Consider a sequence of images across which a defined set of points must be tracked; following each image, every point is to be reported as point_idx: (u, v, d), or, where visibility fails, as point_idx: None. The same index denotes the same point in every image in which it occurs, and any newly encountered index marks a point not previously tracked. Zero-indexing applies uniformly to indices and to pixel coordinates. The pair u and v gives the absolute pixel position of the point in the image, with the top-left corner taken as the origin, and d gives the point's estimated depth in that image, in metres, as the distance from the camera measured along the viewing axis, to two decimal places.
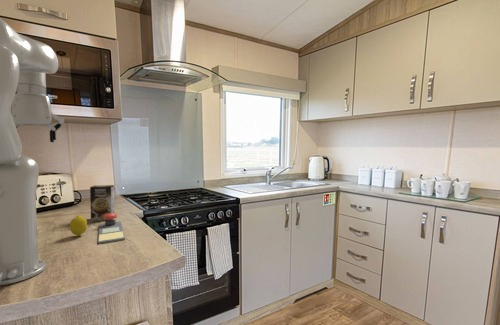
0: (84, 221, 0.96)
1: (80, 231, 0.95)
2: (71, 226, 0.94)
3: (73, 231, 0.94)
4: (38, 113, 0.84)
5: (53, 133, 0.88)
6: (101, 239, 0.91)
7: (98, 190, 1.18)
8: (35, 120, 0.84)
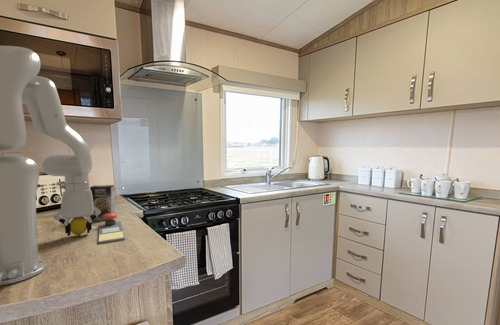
0: (84, 221, 0.96)
1: (80, 231, 0.95)
2: (71, 226, 0.94)
3: (73, 231, 0.94)
4: (83, 207, 0.95)
5: (89, 224, 0.98)
6: (101, 239, 0.91)
7: (98, 190, 1.18)
8: (80, 213, 0.95)
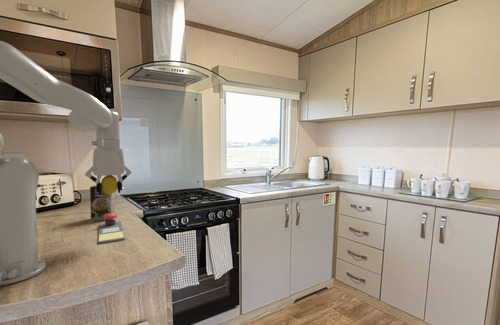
0: (115, 180, 0.93)
1: (111, 190, 0.92)
2: (102, 184, 0.91)
3: (104, 189, 0.91)
4: (114, 165, 0.92)
5: (120, 184, 0.95)
6: (101, 239, 0.91)
7: None
8: (112, 171, 0.91)
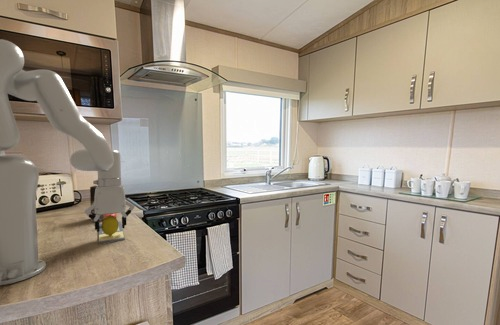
0: (116, 221, 0.94)
1: (112, 231, 0.93)
2: (103, 226, 0.92)
3: (105, 231, 0.92)
4: (116, 203, 0.92)
5: (125, 219, 0.96)
6: (101, 239, 0.91)
7: None
8: (113, 210, 0.92)
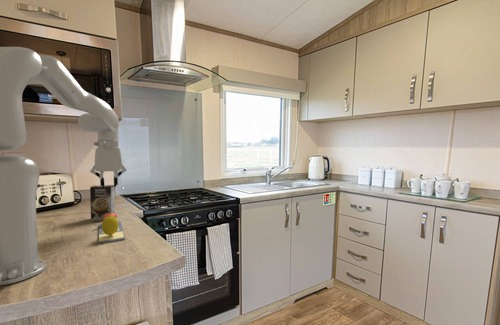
0: (116, 221, 0.94)
1: (112, 231, 0.93)
2: (103, 226, 0.92)
3: (105, 231, 0.92)
4: (113, 162, 1.07)
5: (116, 180, 1.09)
6: (101, 239, 0.91)
7: (98, 190, 1.18)
8: (111, 168, 1.07)
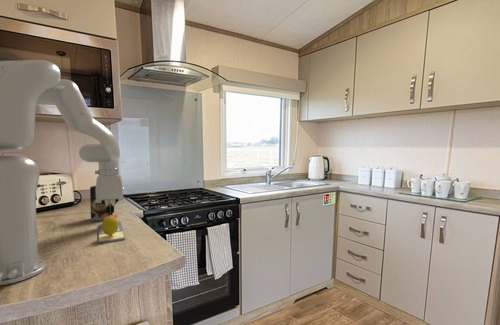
0: (116, 221, 0.94)
1: (112, 231, 0.93)
2: (103, 226, 0.92)
3: (105, 231, 0.92)
4: (114, 190, 1.08)
5: (112, 207, 1.09)
6: (101, 239, 0.91)
7: None
8: (112, 196, 1.07)
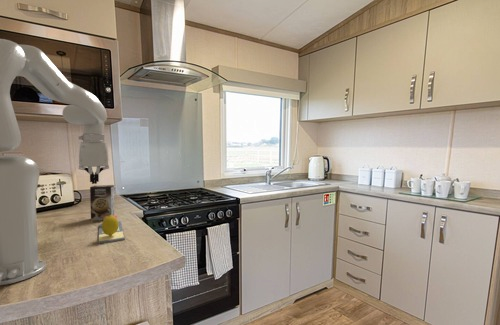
0: (116, 221, 0.94)
1: (112, 231, 0.93)
2: (103, 226, 0.92)
3: (105, 231, 0.92)
4: (99, 157, 1.02)
5: (97, 176, 1.03)
6: (101, 239, 0.91)
7: (98, 190, 1.18)
8: (96, 163, 1.01)
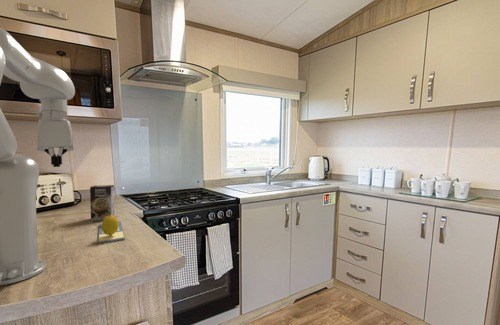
0: (116, 221, 0.94)
1: (112, 231, 0.93)
2: (103, 226, 0.92)
3: (105, 231, 0.92)
4: (60, 137, 0.91)
5: (59, 158, 0.92)
6: (101, 239, 0.91)
7: (98, 190, 1.18)
8: (58, 143, 0.90)
